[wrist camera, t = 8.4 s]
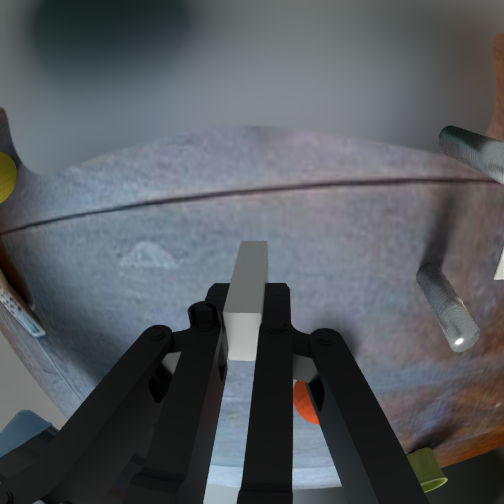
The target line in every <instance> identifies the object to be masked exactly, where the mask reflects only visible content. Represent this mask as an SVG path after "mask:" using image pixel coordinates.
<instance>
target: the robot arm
mask: <svg viewBox="0 0 504 504" xmlns="http://www.w3.org/2000/svg"><path fill="white" fill-rule="evenodd" d="M188 315H189V320H190V325H191V326H190V328H189V329H186V330H183V331H177V332H172V330H171V329H170V328H169V327H167V326H165V325H154V326H151V327H149V328H147V329H146V330H145V331H144V332H143V333H142V334H141V335H140V337H139V338H138V339H137V340H136V341H135V342H134V343H133V345H132V346H131V347H130V348H129V349H128V350H127V351H126V353H125V354H124V355H123V356H122V357H121V358H120V360H119V361H118V362H117V363H116V364H115V365H114V366H113V368H112V369H111V370H110V371H109V372H108V374H107V375H106V376H105V377H104V378H103V379H102V381H101V382H100V383H99V384H98V385H97V386H96V388H95V389H94V390H93V391H92V392H91V394H90V395H89V396H88V397H87V398H86V400H85V401H84V402H83V403H82V404H81V405H80V407H79V408H78V409H77V410H76V411H75V413H74V414H73V415H72V416H71V418H70V419H69V420H68V421H67V422H66V424H65V425H64V426H63V427H62V428H61V430H60V431H59V430H58V429H56V428H55V427H53V426H52V423H50V422H47V421H45V420H44V419H42V418H41V417H40V416H38V415H37V414H35V413H34V412H32V411H30V410H22V411H20V412H19V413H17V414H16V415H15V417H14V418H13V419H12V420H11V421H10V422H9V423H8V424H7V426H6V427H5V428H4V429H3V430H2V432H1V433H0V504H203V500H204V495H205V489H206V484H207V478H208V473H209V467H210V462H211V456H212V451H213V445H214V440H215V435H216V429H217V424H218V418H219V413H220V407H221V402H222V396H223V391H224V386H225V380H226V375H227V369H228V368H227V356H229V360H244V361H256V362H255V371H254V381H253V390H252V399H251V408H250V417H249V426H248V434H247V443H246V451H245V460H244V468H243V476H242V484H241V488H240V491H239V493H238V498H237V504H293V492H292V465H293V379H296V380H299V381H303V382H305V386H306V389H307V391H308V394H309V397H310V400H311V402H312V405H313V408H314V410H315V413H316V416H317V418H318V421H319V424H320V427H321V429H322V432H323V435H324V437H325V440H326V443H327V446H328V448H329V451H330V454H331V456H332V459H333V462H334V465H335V467H336V470H337V473H338V476H339V478H340V481H341V484H342V486H343V489H344V492H345V495H346V497H347V500H348V503H349V504H430V503H429V501H428V499H427V497H426V495H425V493H424V491H423V489H422V487H421V485H420V483H419V481H418V479H417V477H416V474H415V472H414V470H413V468H412V466H411V464H410V463H409V461H408V459H407V457H406V455H405V453H404V451H403V449H402V447H401V445H400V443H399V441H398V439H397V437H396V435H395V433H394V431H393V429H392V428H391V426H390V424H389V422H388V420H387V418H386V416H385V414H384V412H383V410H382V409H381V407H380V405H379V403H378V401H377V399H376V397H375V396H374V394H373V392H372V390H371V388H370V386H369V385H368V383H367V381H366V379H365V377H364V375H363V374H362V372H361V370H360V368H359V366H358V365H357V363H356V361H355V359H354V357H353V356H352V354H351V352H350V350H349V348H348V347H347V345H346V343H345V341H344V340H343V338H342V336H341V335H340V334H339V333H338V332H337V331H335V330H333V329H328V328H320V329H317V330H315V331H313V332H312V333H311V334H306V333H302V332H300V331H298V330H296V329H295V328H294V327H293V325H292V324H291V307H290V288H289V287H288V286H287V284H286V283H268V241H241V244H240V248H239V252H238V256H237V260H236V263H235V267H234V271H233V275H232V279H231V283H215V284H214V285H212V286H211V287H210V288H209V290H208V293H207V296H206V299H205V301H200V302H197V303H194V304H193V305H191V306H190V307H189V308H188Z"/></svg>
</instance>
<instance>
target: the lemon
mask: <svg viewBox="0 0 504 504" xmlns="http://www.w3.org/2000/svg"><path fill="white" fill-rule="evenodd" d="M16 181H17V168H16V165H15V163H14V161H13V159H12V158H11V157H10V156H9V155H7V154H5V153H3V152H0V203H2V202H3V201H5V200H6V199H7V198H8V197H9V195H10V194H11V193H12V191H13V189H14V187H15V185H16Z"/></svg>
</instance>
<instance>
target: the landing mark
mask: <svg viewBox="0 0 504 504" xmlns="http://www.w3.org/2000/svg"><path fill="white" fill-rule="evenodd" d="M493 279H494V280H500V279H504V247H503V250H502V253H501V257H500V260H499V263H498V266H497V269H496V272H495V275H494V278H493Z"/></svg>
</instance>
